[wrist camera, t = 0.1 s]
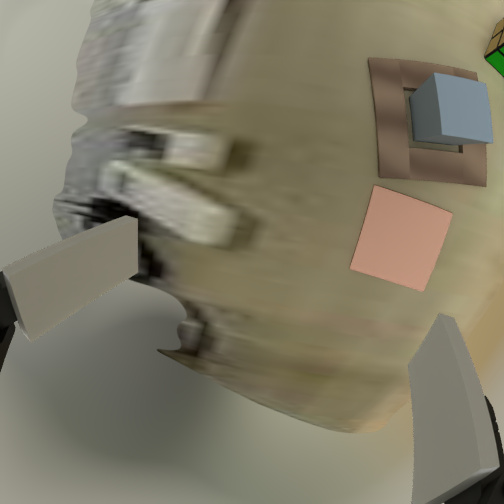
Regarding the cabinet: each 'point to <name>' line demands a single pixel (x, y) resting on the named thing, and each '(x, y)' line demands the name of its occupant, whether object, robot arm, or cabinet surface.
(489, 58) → the puzzle cube
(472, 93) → the slate block
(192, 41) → the cabinet surface
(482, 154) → the pocket holder
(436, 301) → the cabinet surface
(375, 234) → the mat
